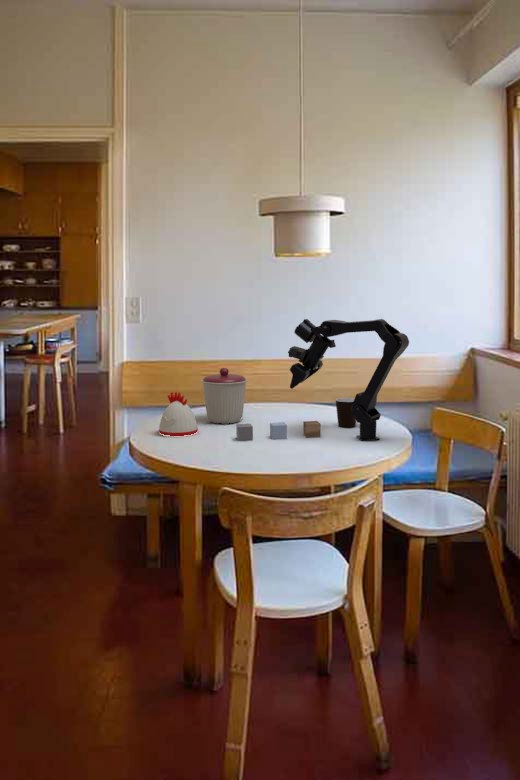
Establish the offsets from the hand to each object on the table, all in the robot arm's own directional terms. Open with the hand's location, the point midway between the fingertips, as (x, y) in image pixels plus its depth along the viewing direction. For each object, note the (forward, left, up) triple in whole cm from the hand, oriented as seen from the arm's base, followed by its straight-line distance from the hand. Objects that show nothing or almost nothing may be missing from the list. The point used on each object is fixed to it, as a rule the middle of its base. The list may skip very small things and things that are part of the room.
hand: (295, 385), depth 268 cm
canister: (+21, +24, -17) cm, 36 cm away
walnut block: (-11, -3, -17) cm, 21 cm away
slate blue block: (-11, +9, -17) cm, 22 cm away
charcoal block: (-11, +21, -17) cm, 29 cm away
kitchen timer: (+4, +43, -17) cm, 46 cm away
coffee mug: (+4, -21, -17) cm, 27 cm away
